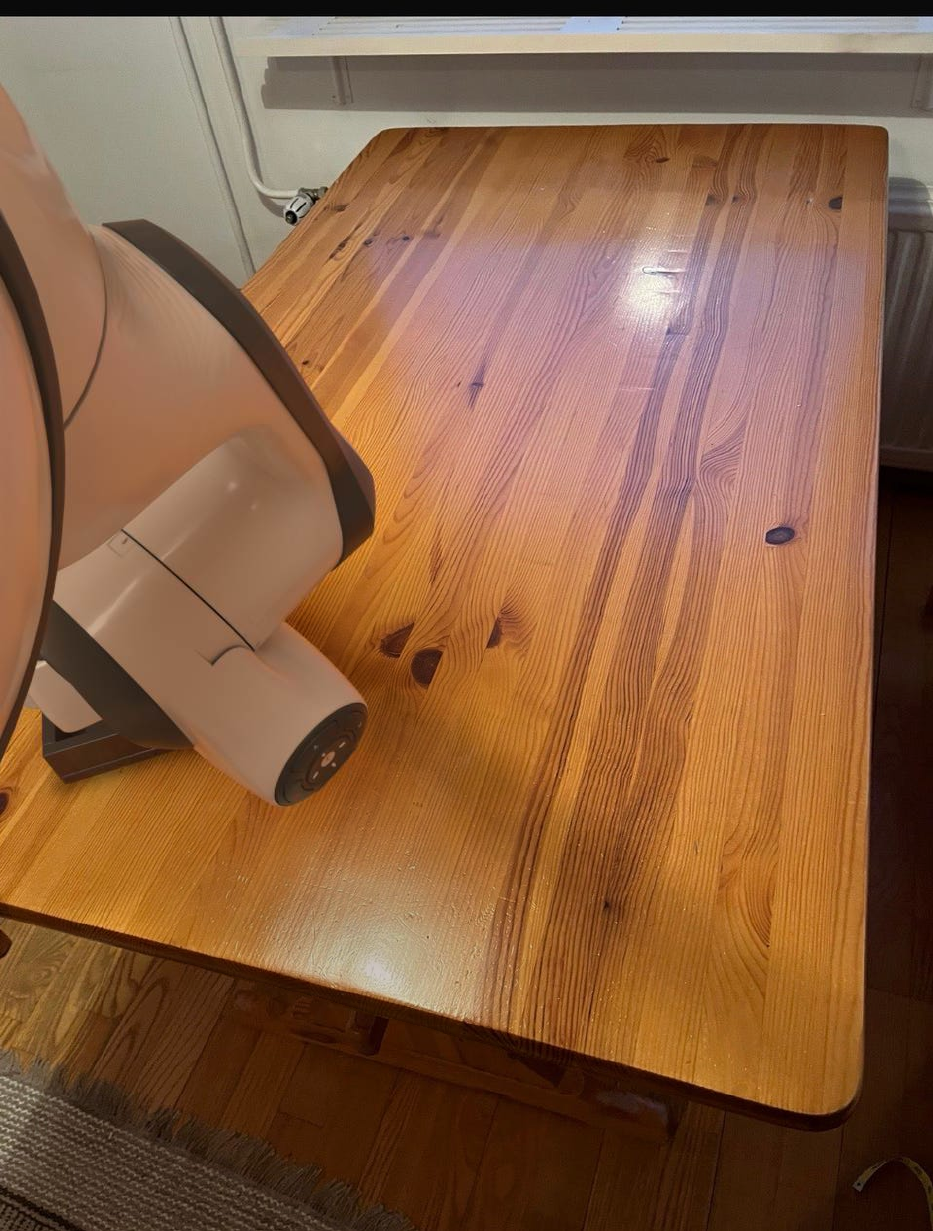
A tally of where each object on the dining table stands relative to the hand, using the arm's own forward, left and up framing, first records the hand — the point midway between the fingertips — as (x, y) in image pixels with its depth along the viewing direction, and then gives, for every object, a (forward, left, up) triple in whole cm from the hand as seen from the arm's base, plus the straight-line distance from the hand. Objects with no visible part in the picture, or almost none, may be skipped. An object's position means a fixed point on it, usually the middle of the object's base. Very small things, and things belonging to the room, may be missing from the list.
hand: (52, 523), depth 65 cm
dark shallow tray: (0, -1, -16) cm, 16 cm away
